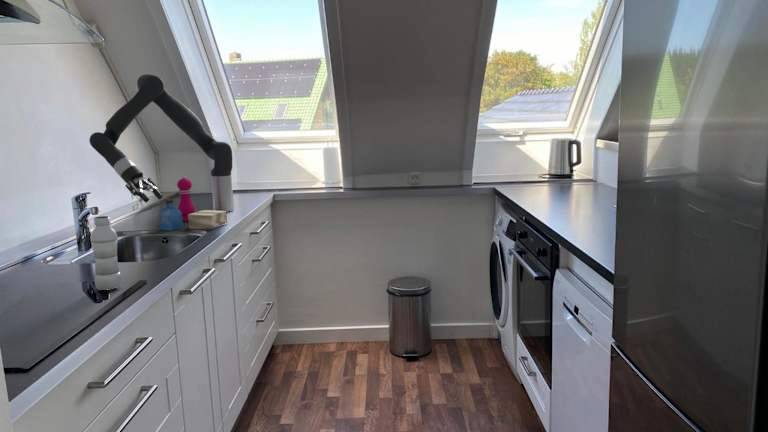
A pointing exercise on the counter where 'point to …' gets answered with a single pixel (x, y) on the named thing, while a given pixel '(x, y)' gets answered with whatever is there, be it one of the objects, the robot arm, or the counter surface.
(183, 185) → the pepper mill
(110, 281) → the plastic bottle
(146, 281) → the counter surface
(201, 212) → the birch block
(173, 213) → the perfume bottle
